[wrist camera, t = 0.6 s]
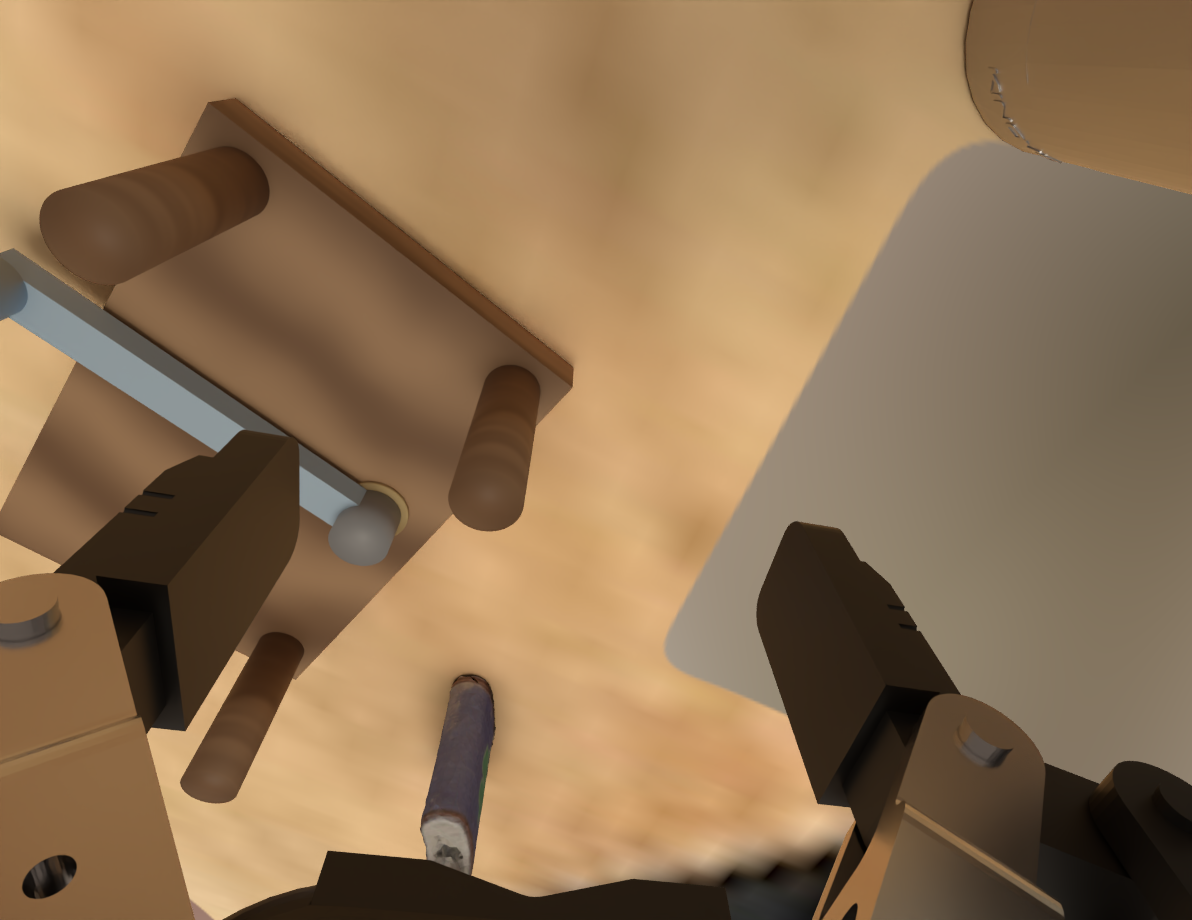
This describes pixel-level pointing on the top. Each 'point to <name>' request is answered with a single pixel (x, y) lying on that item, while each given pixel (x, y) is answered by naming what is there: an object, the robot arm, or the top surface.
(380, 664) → the top surface
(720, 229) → the top surface
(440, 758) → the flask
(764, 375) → the top surface
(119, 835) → the robot arm
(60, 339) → the cylinder
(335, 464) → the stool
